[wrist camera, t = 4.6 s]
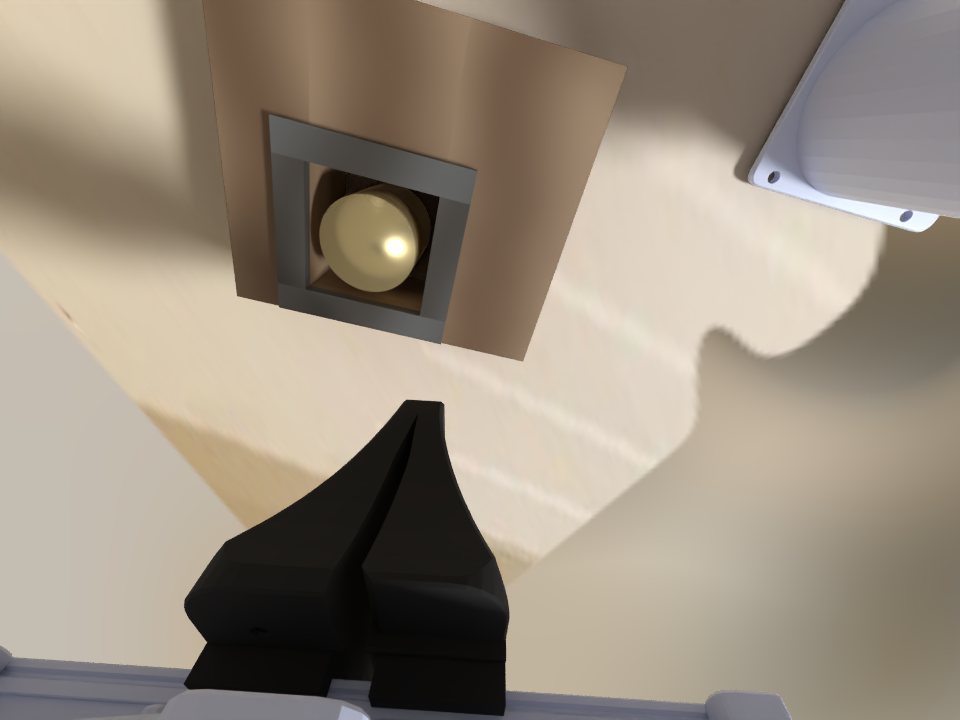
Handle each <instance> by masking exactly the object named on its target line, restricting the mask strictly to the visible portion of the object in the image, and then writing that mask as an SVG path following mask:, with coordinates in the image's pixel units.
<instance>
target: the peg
mask: <svg viewBox="0 0 960 720" xmlns="http://www.w3.org/2000/svg"><path fill="white" fill-rule="evenodd" d="M430 236H431V223H430V218H429V215H428V212H427V210H426V208H425V206H424V204H423V203H422V202H421V200H420V199H419V198H418V197H417V196H416V195H415V194H414V193H413V192H411V191H410V190H408V189H407V188H405V187H401V186H397V185H394V184H390V183H384V184H378V185H375V186H372V187H369V188H367V189H364V190H361V191H358V192H356V193H353V194H350V195H348V196H345V197H343V198H340V199H339V200H337V201H335V202H334V203H333V204H332V205H331V206H330V207H329V208H328V209H327V211H326V212H325V214H324V216H323V218H322V221H321V225H320V232H319V237H320V245H321V249H322V252H323V255H324V257H325V259H326V261H327V263H328V265H329V266H330V267H331V269H332V270H333V271H334V272H335V273H336V275H337V276H339V277H340V278H341V279H342V280H343V281H345V282H346V283H348V284H349V285H351V286H353V287H355V288H358V289H361V290H364V291H369V292H382V291H387V290H390V289H392V288H394V287H396V286H398V285H399V284H401V283H402V282H403V281H404V280H405V279H406V278H407V276H408V275H409V274H410V272H411V271H412V269H413V268H414V266H415V264H416V263H417V261H418V260H419V258H420V257H421V255H422V254H423V252H424V251H425V249H426V247H427V246H428V243H429V240H430Z"/></svg>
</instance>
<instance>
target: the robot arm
mask: <svg viewBox="0 0 960 720" xmlns="http://www.w3.org/2000/svg"><path fill="white" fill-rule="evenodd" d="M772 172H774V173H775V176H774V178H773V179H772V180H771V181H770V182H768V176H769V175H770V174H771V173H772ZM748 181H749V183H750V184H751V185H753V186H757V187H760V188H764V189H767V190H771V191H774V192H777V193H781V194H784V195H788V196H791V197H795V198H798V199H802V200H805V201H808V202H812V203H815V204H819V205H822V206H826V207H829V208H833V209H836V210H839V211H843V212H846V213H850V214H853V215H857V216H860V217H864V218H867V219H870V220H874V221H877V222H881V223H884V224H888V225H891V226H895V227H898V228H902V229H905V230H908V231H913V232H921V231H924V230H925V229H927V228H929V227H930V226H931V225H932V224H933V223H934V222H935V220H936V219H937V218H938V217H939V216H940V215H942V216H948V217H954V218H960V0H845V2H844V4H843V5H842V7H841V9H840V11H839V13H838V14H837V16H836V18H835V20H834V22H833V23H832V25H831V27H830V29H829V30H828V32H827V34H826V36H825V38H824V39H823V41H822V43H821V45H820V46H819V48H818V50H817V52H816V54H815V55H814V57H813V59H812V61H811V63H810V64H809V66H808V68H807V70H806V71H805V73H804V75H803V77H802V79H801V80H800V82H799V84H798V86H797V88H796V89H795V91H794V93H793V95H792V96H791V98H790V100H789V102H788V104H787V105H786V107H785V109H784V111H783V112H782V114H781V116H780V118H779V120H778V121H777V123H776V125H775V127H774V129H773V130H772V132H771V134H770V136H769V137H768V139H767V141H766V143H765V145H764V146H763V148H762V150H761V152H760V154H759V155H758V157H757V159H756V161H755V162H754V164H753V166H752V168H751V170H750V172H749V174H748ZM904 212H905V214H904V216H903V217H902V218H901V219H900V216H901V215H902V214H903V213H904ZM184 608H185V612H186V614H187V616H188V618H189V619H190V620H191V622H192V623H193V624H194V626H195V627H196V628H197V630H198V631H199V632H200V633H201V635H202V636H203V637H204V639H205V640H206V641H207V644H206V645H205V647H204V649H203V651H202V652H201V654H200V656H199V658H198V659H197V661H196V663H195V665H194V666H193V668H192V669H179V668H163V667H148V666H134V665H119V664H104V663H89V662H74V661H59V660H45V659H29V658H15V657H12V654H11V653H10V652H9V651H8V650H6V649H5V648H4V647H2V646H0V720H792V718H791V716H790V714H789V712H788V710H787V708H786V707H785V704H784V702H783V700H782V698H781V697H780V696H779V695H777V694H776V693H770V692H756V691H741V690H722V691H717V692H715V693H713V694H711V695H710V696H709V697H708V699H707V701H706V703H705V704H699V703H698V704H697V703H683V702H669V701H668V702H667V701H654V700H639V699H638V700H637V699H624V698H610V697H594V696H579V695H565V694H564V695H563V694H550V693H534V692H519V691H506V687H505V686H506V684H505V682H506V681H505V662H506V634H507V629H508V623H509V606H508V599H507V595H506V591H505V587H504V584H503V581H502V577H501V574H500V571H499V568H498V565H497V562H496V559H495V556H494V555H493V553H492V552H491V550H490V548H489V547H488V545H487V543H486V542H485V540H484V538H483V537H482V535H481V533H480V531H479V529H478V527H477V526H476V524H475V522H474V520H473V518H472V516H471V513H470V511H469V509H468V507H467V505H466V503H465V501H464V498H463V496H462V494H461V491H460V489H459V486H458V483H457V481H456V478H455V475H454V472H453V469H452V465H451V462H450V458H449V455H448V451H447V446H446V441H445V417H444V404H443V403H442V402H438V401H420V400H406V401H404V402H403V404H402V405H401V406H400V407H399V409H398V410H397V411H396V412H395V414H394V415H393V416H392V417H391V418H390V420H389V421H388V422H387V423H386V424H385V425H384V427H383V428H382V429H381V430H380V431H379V432H378V433H377V434H376V435H375V436H374V437H373V439H372V440H371V441H370V442H369V443H368V444H367V445H366V446H365V447H364V448H363V449H362V450H361V451H359V452H358V453H357V454H356V455H355V456H354V457H353V458H352V459H351V460H350V461H349V462H348V463H347V464H345V465H344V466H343V467H342V468H341V469H340V470H338V471H337V472H336V473H335V474H334V475H332V476H331V477H330V478H329V479H327V480H326V481H325V482H323V483H322V484H321V485H319V486H318V487H317V488H315V489H314V490H313V491H311V492H310V493H308V494H307V495H306V496H304V497H303V498H301V499H300V500H298V501H297V502H295V503H293V504H292V505H290V506H289V507H287V508H286V509H284V510H282V511H281V512H279V513H277V514H276V515H274V516H272V517H271V518H269V519H267V520H265V521H264V522H262V523H260V524H258V525H256V526H254V527H252V528H251V529H249V530H247V531H245V532H243V533H241V534H240V535H237V536H236V537H234V538H232V539H230V540H228V541H226V542H225V543H224V544H223V546H222V547H221V548H220V550H219V551H218V552H217V553H216V555H215V556H214V557H213V559H212V560H211V561H210V563H209V564H208V566H207V567H206V569H205V570H204V572H203V573H202V575H201V576H200V578H199V579H198V581H197V582H196V584H195V585H194V587H193V588H192V590H191V591H190V592H189V594H188V595H187V597H186V598H185V602H184Z"/></svg>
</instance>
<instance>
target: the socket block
mask: <svg viewBox="0 0 960 720" xmlns="http://www.w3.org/2000/svg"><path fill="white" fill-rule="evenodd" d="M203 8H204V17H205V25H206V34H207V42H208V51H209V59H210V68H211V76H212V85H213V94H214V102H215V111H216V119H217V128H218V136H219V145H220V153H221V162H222V171H223V179H224V188H225V196H226V205H227V213H228V222H229V230H230V239H231V248H232V256H233V265H234V273H235V282H236V290H237V296H239V297H244V298H248V299H252V300H257V301H261V302H265V303H270V304H274V305H279V307H280V308H285V309H289V310H293V311H298V312H302V313H307V314H311V315H315V316H320V317H324V318H328V319H333V320H337V321H342V322H346V323H350V324H355V325H359V326H363V327H368V328H372V329H377V330H381V331H385V332H390V333H394V334H398V335H403V336H407V337H412V338H416V339H420V340H425V341H429V342H433V343H438V344H441V343H445V344H449V345H453V346H458V347H462V348H466V349H471V350H475V351H479V352H484V353H488V354H493V355H497V356H501V357H506V358H510V359H514V360H519V361H523V360H524V357H525V354H526V351H527V349H528V346H529V343H530V340H531V337H532V334H533V332H534V329H535V326H536V323H537V320H538V318H539V315H540V312H541V309H542V306H543V304H544V301H545V298H546V295H547V292H548V290H549V287H550V284H551V281H552V278H553V276H554V273H555V270H556V267H557V264H558V262H559V259H560V256H561V253H562V250H563V248H564V245H565V242H566V239H567V236H568V233H569V231H570V228H571V225H572V222H573V219H574V217H575V214H576V211H577V208H578V205H579V203H580V200H581V197H582V194H583V191H584V189H585V186H586V183H587V180H588V177H589V175H590V172H591V169H592V166H593V163H594V161H595V158H596V155H597V152H598V149H599V146H600V144H601V141H602V138H603V135H604V132H605V130H606V127H607V124H608V121H609V118H610V116H611V113H612V110H613V107H614V104H615V102H616V99H617V96H618V93H619V90H620V88H621V85H622V82H623V79H624V76H625V74H626V71H627V68H628V67H627V66H624V65H621V64H617V63H614V62H611V61H608V60H605V59H601V58H598V57H595V56H592V55H589V54H585V53H582V52H579V51H576V50H573V49H569V48H566V47H563V46H560V45H556V44H553V43H550V42H547V41H544V40H540V39H537V38H534V37H531V36H528V35H524V34H521V33H518V32H515V31H512V30H508V29H505V28H502V27H499V26H495V25H492V24H489V23H486V22H483V21H479V20H476V19H473V18H470V17H467V16H463V15H460V14H457V13H454V12H451V11H447V10H444V9H441V8H438V7H434V6H431V5H428V4H425V3H422V2H418V1H415V0H203ZM346 172H348V173H352V174H356V175H360V176H363V177H367V178H371V179H375V180H379V181H382V182H386V183H390V184H394V185H397V186H401V187H405V188H409V189H413V190H416V191H420V192H424V193H428V194H431V195H435V196H439V197H440V199H439V205H438V211H437V216H436V222H435V228H434V234H433V240H432V246H431V252H430V258H429V264H428V270H427V276H426V281H422V280H418V279H414V278H410V277H407V278H406V279H405V280H404V281H403V282H402V283H401V284H399V285H398V286H396V287H394V288H392V289H390V290H387V291H382V292H369V291H364V290H361V289H358V288H355V287H353V286H351V285H349V284H348V283H346V282H345V281H343V280H342V279H341V278H340V277H339V276H337V275H336V273H335V272H334V271H333V270H332V269H331V267H330V266H329V265H328V263H327V261H326V259H325V257H324V255H323V252H322V249H321V245H320V237H319V232H320V225H321V221H322V218H323V216H324V214H325V212H326V211H327V209H328V208H329V207H330V206H331V205H332V204H333V203H334V202H335V201H337V200H339V199H340V198H343V197H345V174H346Z"/></svg>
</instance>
